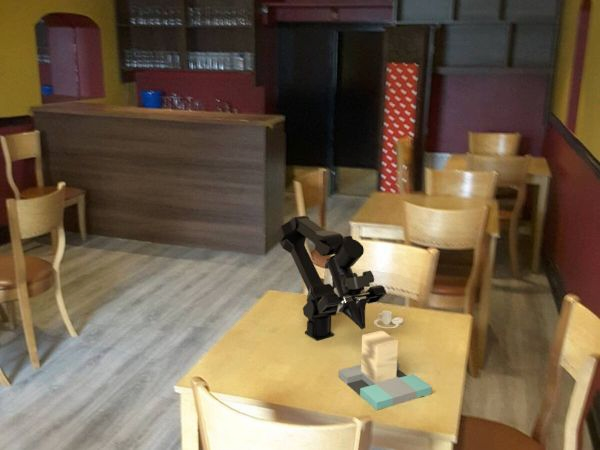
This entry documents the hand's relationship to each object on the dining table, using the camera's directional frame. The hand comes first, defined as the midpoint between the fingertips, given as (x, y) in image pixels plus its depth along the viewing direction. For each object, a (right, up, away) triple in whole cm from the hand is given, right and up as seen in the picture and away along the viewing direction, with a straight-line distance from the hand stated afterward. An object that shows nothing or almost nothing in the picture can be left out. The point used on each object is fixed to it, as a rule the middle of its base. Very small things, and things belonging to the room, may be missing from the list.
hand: (363, 328), depth 162 cm
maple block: (+3, -11, -4) cm, 12 cm away
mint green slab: (+7, -15, -10) cm, 19 cm away
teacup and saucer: (+12, -5, +29) cm, 32 cm away
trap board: (+5, -13, -6) cm, 15 cm away
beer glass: (-5, -1, +41) cm, 41 cm away
